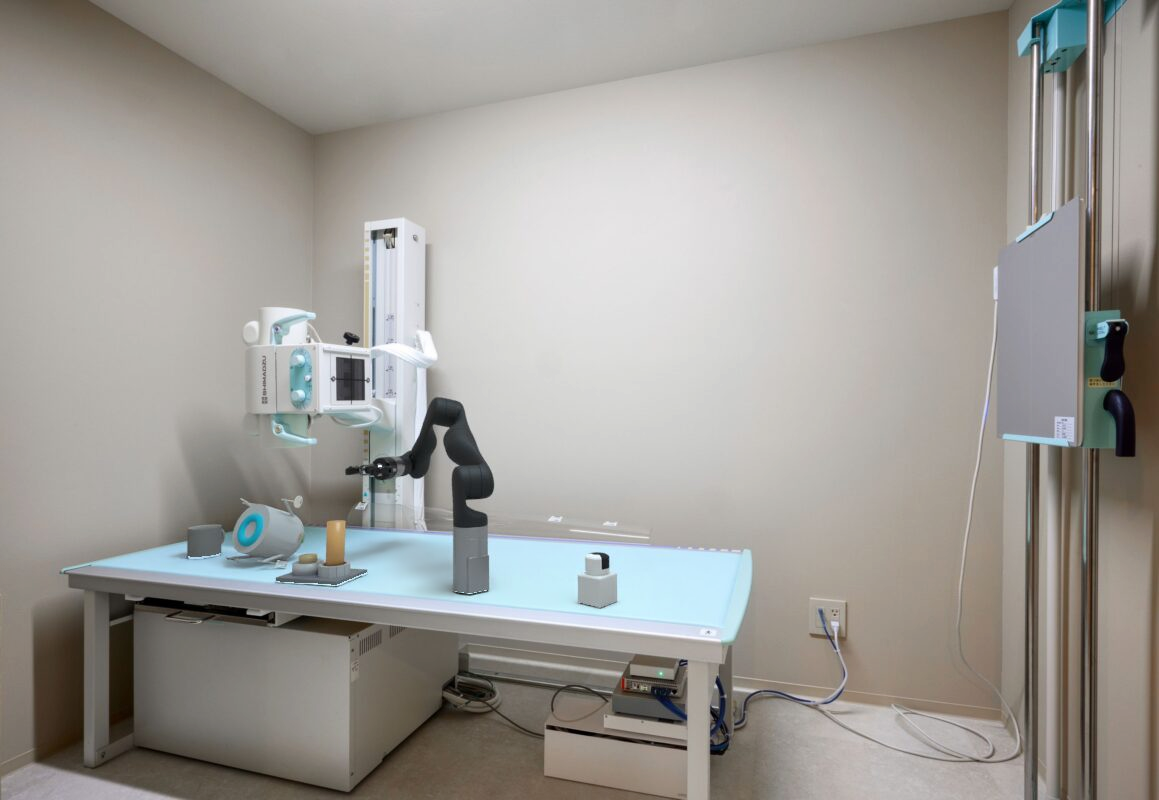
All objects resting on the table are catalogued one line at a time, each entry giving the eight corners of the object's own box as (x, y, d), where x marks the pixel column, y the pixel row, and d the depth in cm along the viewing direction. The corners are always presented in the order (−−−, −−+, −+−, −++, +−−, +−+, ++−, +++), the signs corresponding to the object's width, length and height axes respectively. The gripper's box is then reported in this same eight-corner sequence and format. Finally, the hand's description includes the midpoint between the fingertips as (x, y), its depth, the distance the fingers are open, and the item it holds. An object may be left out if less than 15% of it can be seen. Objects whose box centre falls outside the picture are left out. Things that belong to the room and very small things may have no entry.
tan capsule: (346, 574, 172) (347, 522, 172) (328, 577, 169) (329, 523, 169) (341, 570, 176) (342, 519, 176) (323, 573, 173) (324, 521, 173)
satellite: (330, 506, 204) (278, 508, 214) (282, 489, 188) (229, 492, 198) (311, 574, 194) (259, 573, 204) (260, 562, 178) (205, 561, 188)
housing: (367, 574, 177) (367, 552, 178) (336, 587, 164) (336, 563, 164) (310, 570, 182) (310, 549, 183) (275, 582, 169) (276, 559, 169)
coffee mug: (200, 560, 198) (201, 530, 198) (180, 558, 202) (180, 528, 202) (236, 552, 211) (237, 523, 211) (216, 550, 214) (217, 522, 215)
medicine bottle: (595, 596, 153) (594, 549, 153) (617, 601, 148) (617, 553, 149) (577, 603, 147) (576, 554, 148) (600, 608, 143) (599, 558, 143)
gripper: (369, 456, 202) (338, 459, 186) (407, 456, 198) (378, 459, 182) (369, 478, 201) (338, 483, 186) (407, 479, 198) (378, 484, 182)
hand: (358, 471), depth 184 cm, fingers open, 8 cm apart
